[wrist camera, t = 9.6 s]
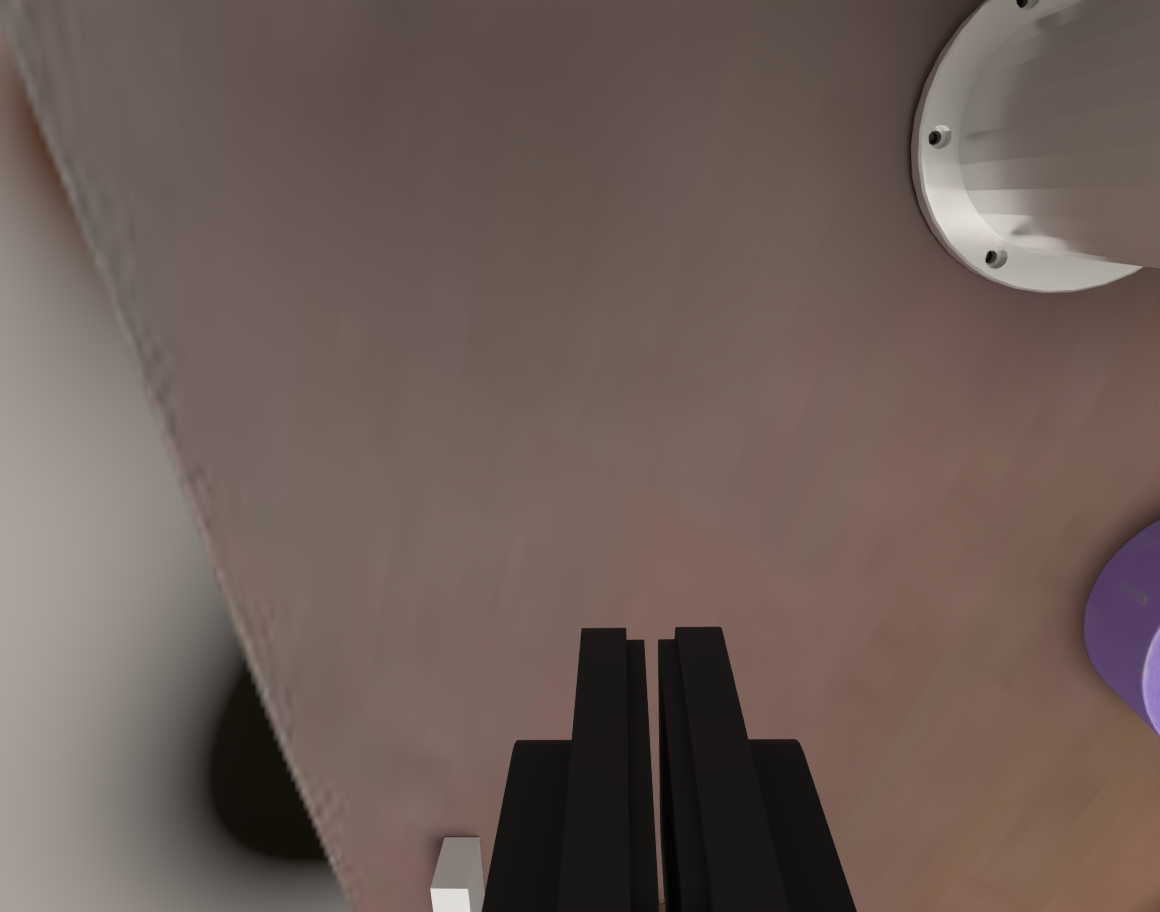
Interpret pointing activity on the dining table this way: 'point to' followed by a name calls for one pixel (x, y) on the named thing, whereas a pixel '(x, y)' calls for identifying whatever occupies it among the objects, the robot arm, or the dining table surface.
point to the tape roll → (1129, 624)
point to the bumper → (458, 876)
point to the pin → (662, 908)
